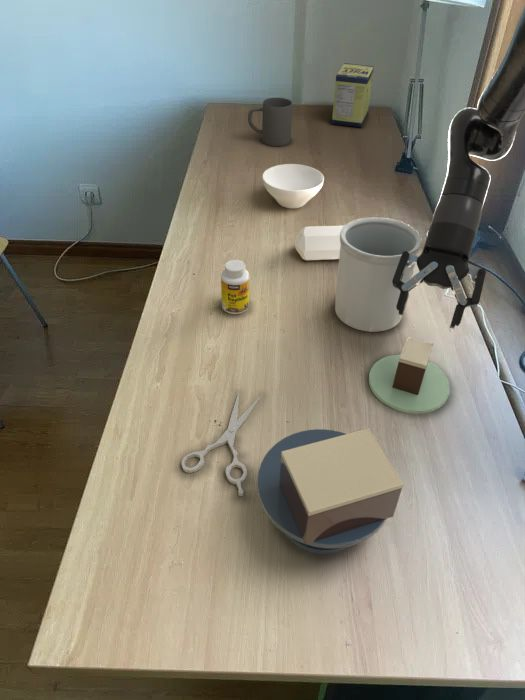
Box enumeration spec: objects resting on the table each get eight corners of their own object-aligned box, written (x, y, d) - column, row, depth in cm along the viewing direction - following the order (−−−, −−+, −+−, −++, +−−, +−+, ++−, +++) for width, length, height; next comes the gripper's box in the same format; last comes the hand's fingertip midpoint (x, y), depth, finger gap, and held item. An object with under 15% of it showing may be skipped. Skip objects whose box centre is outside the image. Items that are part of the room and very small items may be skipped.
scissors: (174, 475, 83) (221, 383, 97) (175, 478, 84) (221, 386, 98) (242, 494, 81) (280, 397, 95) (242, 497, 82) (280, 400, 96)
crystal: (298, 252, 124) (404, 249, 125) (295, 224, 126) (399, 220, 128) (294, 267, 131) (395, 264, 133) (291, 240, 133) (390, 237, 135)
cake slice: (424, 373, 100) (433, 343, 96) (418, 395, 96) (426, 365, 92) (399, 365, 102) (407, 336, 97) (392, 387, 98) (399, 358, 93)
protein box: (368, 112, 201) (374, 65, 190) (361, 128, 189) (368, 78, 179) (339, 109, 203) (344, 62, 192) (330, 124, 191) (335, 75, 181)
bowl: (330, 212, 145) (332, 187, 141) (270, 219, 142) (271, 193, 138) (311, 185, 157) (313, 161, 152) (255, 191, 154) (255, 166, 149)
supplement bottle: (225, 317, 113) (223, 274, 106) (219, 301, 117) (217, 259, 110) (252, 313, 114) (252, 271, 107) (245, 297, 118) (245, 255, 111)
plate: (437, 357, 105) (438, 354, 104) (458, 413, 94) (459, 410, 94) (363, 357, 104) (363, 354, 104) (375, 413, 94) (376, 410, 94)
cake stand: (350, 450, 88) (363, 383, 78) (408, 552, 76) (432, 487, 66) (240, 480, 84) (239, 413, 74) (283, 594, 71) (288, 531, 61)
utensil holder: (322, 293, 119) (330, 219, 107) (388, 286, 122) (403, 212, 110) (344, 338, 108) (355, 261, 97) (416, 329, 111) (435, 252, 99)
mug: (289, 135, 184) (291, 97, 176) (291, 146, 177) (293, 107, 169) (247, 135, 183) (247, 97, 175) (248, 146, 176) (248, 107, 168)
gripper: (410, 212, 92) (382, 306, 92) (501, 230, 88) (472, 329, 88) (411, 226, 99) (385, 313, 99) (494, 243, 95) (467, 335, 95)
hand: (426, 321), depth 94 cm, fingers open, 8 cm apart
